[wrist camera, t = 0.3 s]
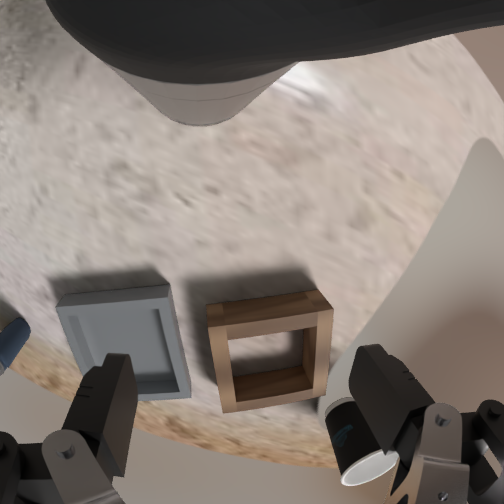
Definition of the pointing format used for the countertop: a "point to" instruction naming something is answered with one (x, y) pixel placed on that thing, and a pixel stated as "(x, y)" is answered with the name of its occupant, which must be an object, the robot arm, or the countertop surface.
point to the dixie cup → (355, 444)
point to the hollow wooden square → (268, 322)
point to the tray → (130, 336)
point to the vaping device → (12, 342)
